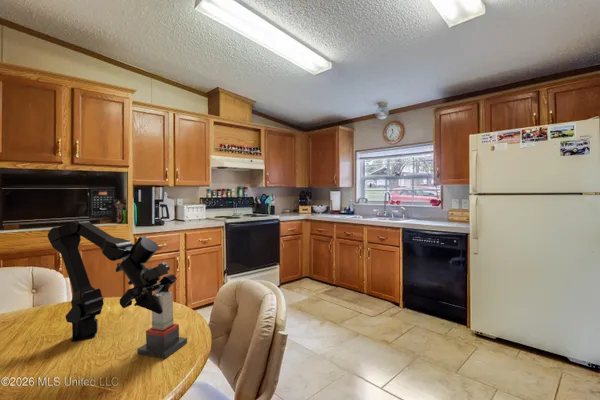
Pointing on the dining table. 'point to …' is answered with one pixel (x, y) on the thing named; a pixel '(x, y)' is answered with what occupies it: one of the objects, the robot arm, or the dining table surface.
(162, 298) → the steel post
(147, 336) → the stand
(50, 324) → the dining table surface
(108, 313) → the dining table surface
